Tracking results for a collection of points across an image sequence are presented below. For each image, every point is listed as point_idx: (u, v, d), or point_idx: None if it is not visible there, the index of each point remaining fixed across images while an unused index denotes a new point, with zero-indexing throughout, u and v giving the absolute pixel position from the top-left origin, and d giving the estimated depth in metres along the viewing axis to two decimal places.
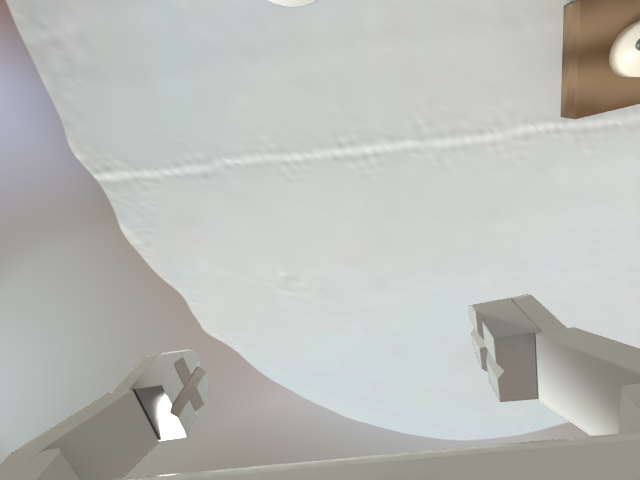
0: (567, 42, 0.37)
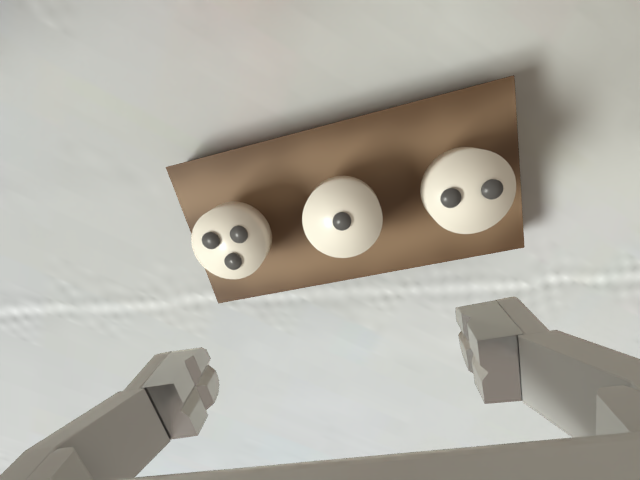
0: None
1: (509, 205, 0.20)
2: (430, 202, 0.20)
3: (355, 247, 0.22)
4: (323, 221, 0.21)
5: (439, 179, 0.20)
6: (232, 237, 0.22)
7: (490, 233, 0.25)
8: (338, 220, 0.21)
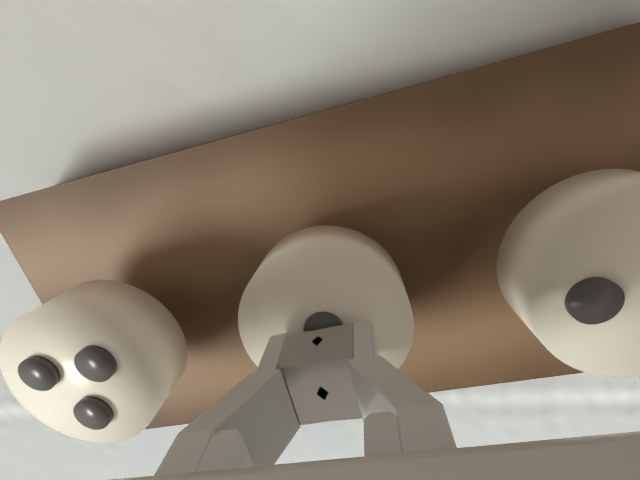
0: None
1: None
2: (538, 308, 0.08)
3: None
4: (284, 329, 0.10)
5: (568, 256, 0.08)
6: (81, 370, 0.10)
7: None
8: None
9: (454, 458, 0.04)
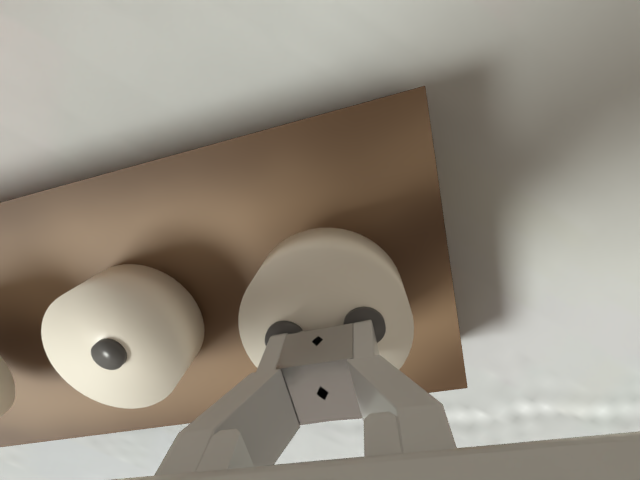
0: None
1: (404, 355, 0.10)
2: (248, 344, 0.10)
3: (144, 393, 0.12)
4: (80, 352, 0.12)
5: (258, 304, 0.10)
6: None
7: (406, 364, 0.14)
8: (100, 354, 0.12)
9: (454, 458, 0.04)
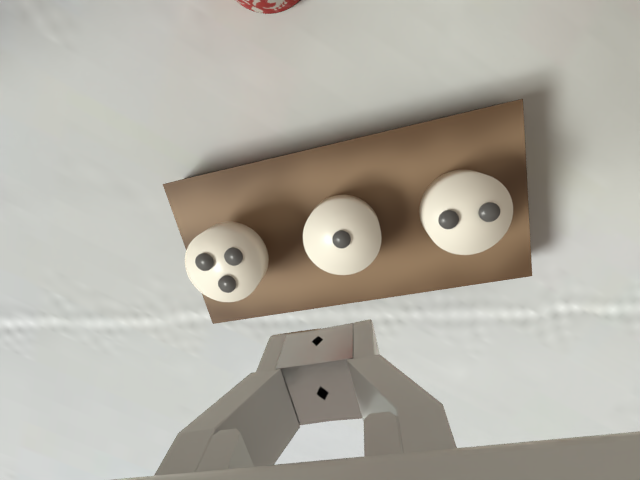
0: None
1: (506, 228, 0.20)
2: (428, 223, 0.21)
3: (354, 265, 0.22)
4: (323, 239, 0.22)
5: (437, 201, 0.20)
6: (226, 259, 0.21)
7: (496, 260, 0.23)
8: (338, 238, 0.22)
9: (454, 458, 0.04)
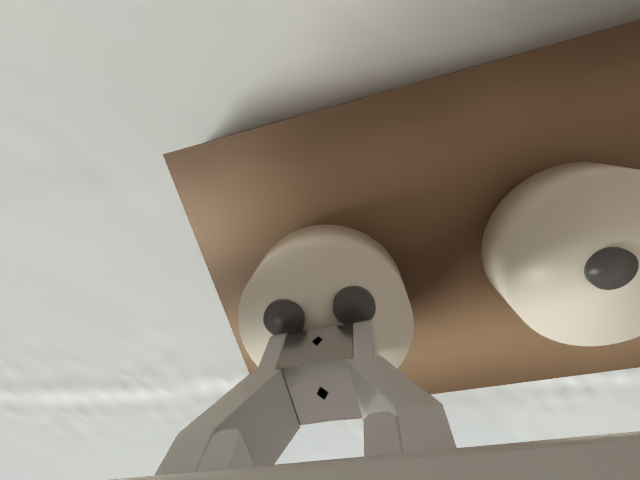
0: None
1: None
2: None
3: (624, 325, 0.10)
4: (561, 268, 0.09)
5: None
6: (338, 313, 0.09)
7: None
8: (605, 267, 0.09)
9: (454, 458, 0.04)
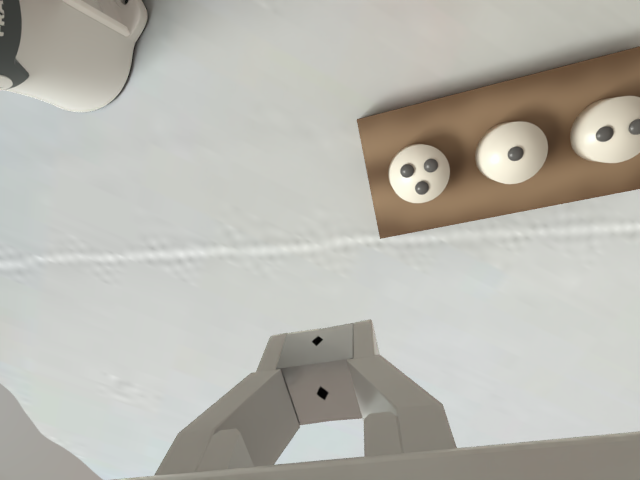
0: None
1: None
2: (587, 138, 0.27)
3: (522, 175, 0.29)
4: (500, 154, 0.28)
5: (597, 119, 0.27)
6: (425, 167, 0.29)
7: (626, 174, 0.30)
8: (513, 152, 0.28)
9: (454, 458, 0.04)
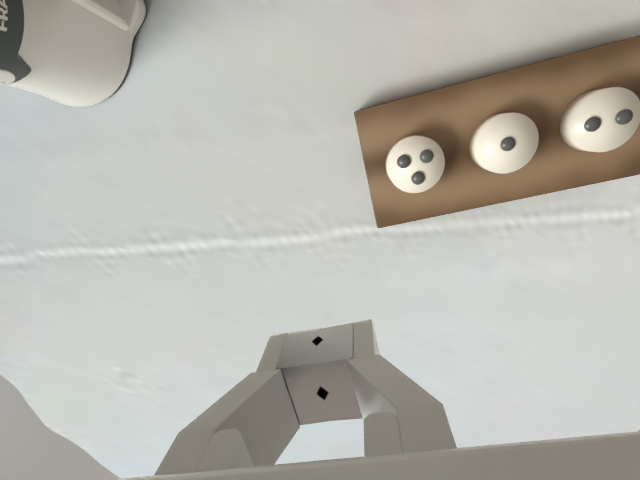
0: None
1: (635, 129, 0.28)
2: (576, 128, 0.28)
3: (514, 164, 0.30)
4: (492, 144, 0.29)
5: (585, 110, 0.28)
6: (421, 158, 0.30)
7: (614, 163, 0.31)
8: (505, 143, 0.29)
9: (454, 458, 0.04)
